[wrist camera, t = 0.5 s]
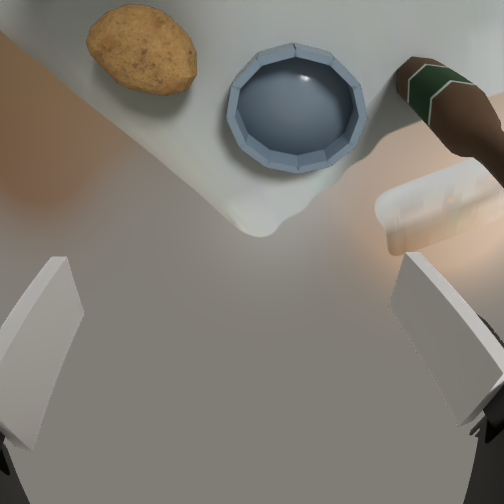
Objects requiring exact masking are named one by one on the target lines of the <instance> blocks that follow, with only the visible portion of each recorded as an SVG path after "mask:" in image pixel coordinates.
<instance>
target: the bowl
mask: <svg viewBox="0 0 504 504" xmlns="http://www.w3.org/2000/svg"><path fill="white" fill-rule="evenodd" d="M226 118H227V119H226V120H227V122H228V124H229V126H230V128H231V131H232V133H233V135H234V137H235V139H236V142H237V144H238V146H239V147H240V149H241V150H243V151H244V152H246V153H247V154H248V155H250V156H251V157H252V158H254V159H255V160H256V161H258V162H259V163H260V164H262V165H263V166H264V167H266V166H267V167H266V168H271V169H276V170H281V171H286V172H291V173H296V174H298V172H299V174H300V173H305V172H309V171H314V170H318V169H323V168H327V167H330V166H332V165H333V164H335V163H336V162H337V161H338V160H340V159H341V158H342V157H344V156H345V155H346V154H347V153H349V152H350V151H351V150H352V149H354V148H355V146H356V145H357V142H358V140H359V137H360V135H361V132H362V130H363V127H364V125H365V122H366V120H367V113H366V108H365V103H364V98H363V93H362V88H361V85H360V83H359V82H358V81H357V80H356V79H355V77H354V76H353V75H352V74H351V73H350V72H349V71H348V70H347V69H346V68H345V67H344V66H343V65H342V64H341V63H340V62H339V61H338V60H337V59H336V58H335V57H334V56H333V55H332V54H331V53H330V52H328V51H325V50H321V49H317V48H313V47H309V46H305V45H301V44H297V43H294V45H293V43H290V44H286V45H282V46H278V47H275V48H271V49H268V50H264V51H261V52H259V53H257V54H256V55H255V56H254V57H253V58H252V59H251V60H250V61H249V62H248V63H247V65H246V66H245V67H244V68H243V69H242V70H241V71H240V72H239V73H238V74H237V75H236V77H235V79H234V81H233V83H232V86H231V90H230V97H229V103H228V109H227V116H226ZM329 165H330V166H329Z"/></svg>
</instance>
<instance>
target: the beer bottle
mask: <svg viewBox="0 0 504 504" xmlns="http://www.w3.org/2000/svg"><path fill="white" fill-rule="evenodd" d="M397 92H398V93H399V94H400V96H401V97H402V98H403V99H404V100H405V101H406V102H407V103H408V104H409V106H410V107H411V108H412V109H413V110H414V111H415V112H416V113H417V114H418V116H419V117H420V118H421V119H422V120H423V121H424V122H425V123H426V124H427V125H428V127H429V128H430V129H431V130H432V131H433V132H434V134H435V135H436V136H437V137H438V138H439V139H440V140H441V142H442V143H443V144H444V145H445V146H446V147H447V148H448V149H449V150H450V151H451V152H452V153H454V154H456V155H458V156H461V157H474V158H475V159H476V160H478V161H479V162H480V163H481V164H483V165H484V166H485V168H486V169H487V170H488V171H489V172H490V173H491V174H492V175H493V176H494V177H495V179H496V180H497V181H498V182H499V183H500V184H501V186H502V187H503V188H504V132H503V131H502V130H501V122H500V120H499V118H498V116H497V114H496V112H495V110H494V109H493V107H492V105H491V103H490V101H489V100H488V98H487V96H486V95H485V93H484V92H483V91H482V90H481V89H479V88H478V87H477V86H476V85H475V84H473V83H472V82H470V81H469V80H467V79H466V78H464V77H463V76H461V75H459V74H458V73H456V72H455V71H453V70H451V69H450V68H448V67H446V66H445V65H443V64H441V63H440V62H438V61H436V60H433V59H429V58H420V57H411V58H410V59H409V60H408V61H407V62H406V63H405V64H403V65H402V66H401V67H400V68H399V69H398V70H397Z"/></svg>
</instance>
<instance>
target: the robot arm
mask: <svg viewBox="0 0 504 504" xmlns="http://www.w3.org/2000/svg"><path fill="white" fill-rule="evenodd" d="M388 307H389V309H390V310H391V312H392V314H393V315H394V317H395V318H396V320H397V321H398V323H399V325H400V326H401V328H402V329H403V331H404V332H405V334H406V336H407V337H408V339H409V341H410V342H411V344H412V345H413V347H414V349H415V350H416V352H417V354H418V355H419V357H420V359H421V361H422V362H423V364H424V366H425V367H426V369H427V371H428V373H429V374H430V376H431V378H432V380H433V381H434V383H435V385H436V387H437V388H438V390H439V392H440V394H441V396H442V398H443V399H444V401H445V403H446V405H447V407H448V409H449V411H450V412H451V414H452V416H453V418H454V420H455V422H456V424H457V426H458V427H460V426H462V425H464V424H467V423H469V422H471V421H473V420H474V419H475V418H476V417H477V416H478V415H479V413H480V412H481V411H482V410H483V411H484V413H485V416H484V417H483V418H482V419H481V420H480V421H479V422H478V423H477V425H476V426H475V427H474V428H473V429H472V430H471V432H470V434H469V435H473V434H474V433H475V432H476V431H477V429H479V428H480V431H479V432H478V433H477V434H476V435H475V437H478V444H477V449H476V454H475V459H474V464H473V469H472V473H471V477H470V481H469V485H468V489H467V492H466V496H465V499H464V503H463V504H504V343H503V342H502V340H500V338H499V336H498V335H497V334H496V333H494V330H493V329H492V328H491V327H490V325H489V324H488V323H487V322H486V321H485V320H484V319H483V318H481V317H480V316H479V315H477V314H476V313H475V312H474V311H473V310H472V309H471V307H470V306H469V305H468V304H467V303H466V302H465V300H464V299H463V298H462V297H461V296H460V295H459V294H458V293H457V291H456V290H455V289H454V288H453V287H452V286H451V285H450V284H449V283H448V281H447V280H446V279H445V278H444V277H443V276H442V275H441V274H440V273H439V272H438V271H437V270H436V269H435V268H434V267H433V266H432V265H431V263H430V262H429V261H428V260H427V259H426V258H425V257H424V256H423V255H422V254H421V253H420V252H405V254H404V258H403V261H402V264H401V268H400V271H399V274H398V277H397V280H396V283H395V287H394V289H393V293H392V296H391V298H390V301H389V304H388ZM83 316H84V310H83V307H82V304H81V301H80V298H79V295H78V292H77V289H76V286H75V282H74V279H73V275H72V272H71V268H70V265H69V261H68V257H51V258H50V259H49V260H48V262H47V263H46V264H45V265H44V267H43V268H42V269H41V271H40V272H39V273H38V275H37V276H36V278H35V279H34V280H33V281H32V283H31V284H30V285H29V287H28V288H27V290H26V291H25V293H24V294H23V295H22V297H21V298H20V300H19V301H18V302H17V304H16V305H15V307H14V309H13V310H12V311H11V313H10V314H9V316H8V317H7V319H6V321H5V322H4V323H3V325H2V327H1V328H0V504H30V503H29V501H28V498H27V496H26V494H25V492H24V490H23V488H22V485H21V483H20V481H19V478H18V476H17V473H16V471H15V468H14V466H13V463H12V460H11V458H10V455H9V452H8V450H7V448H6V446H5V445H4V444H3V442H4V438H5V437H6V438H7V439H8V440H9V441H10V442H11V443H12V444H13V445H14V446H17V447H19V448H22V449H25V450H28V451H31V452H33V450H34V446H35V443H36V440H37V436H38V433H39V430H40V426H41V423H42V420H43V417H44V414H45V410H46V408H47V405H48V402H49V399H50V396H51V393H52V391H53V388H54V385H55V383H56V380H57V377H58V375H59V372H60V370H61V367H62V365H63V362H64V360H65V357H66V355H67V352H68V350H69V347H70V345H71V343H72V340H73V338H74V336H75V333H76V331H77V329H78V327H79V324H80V322H81V320H82V318H83Z"/></svg>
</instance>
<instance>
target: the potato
mask: <svg viewBox="0 0 504 504" xmlns="http://www.w3.org/2000/svg"><path fill="white" fill-rule="evenodd" d="M86 44H87V47H88V49H89V52H90V55H91V56H92V57H93V58H94V59H95V60H96V61H97V62H98V64H99V65H100V66H101V67H102V68H104V69H105V70H106V71H107V72H108V73H109V74H110V75H111V77H112V78H113V79H114V80H115V81H116V82H117V83H119V84H121V85H123V86H125V87H127V88H128V89H132V90H137V91H142V92H146V93H150V94H155V95H170V94H174V93H177V92H181V91H184V90H188V88H189V86H190V85H191V83H192V82H193V80H194V78H195V77H196V75H197V58H196V50H195V48H194V46H193V43H192V41H191V39H190V38H189V36H188V35H187V34H186V33H185V31H184V30H183V29H182V28H181V27H180V26H179V25H178V24H177V23H176V22H175V21H174V20H173V19H172V18H170V17H169V16H168V15H167V14H165V13H164V12H163V11H161V10H158V9H155V8H152V7H149V6H145V5H134V4H127V5H124V6H122V7H119V8H117V9H114V10H112V11H109V12H107V13H105V14H104V15H103V16H102V17H101V18H100V19H99V20H98V21H97V22H96V23H95V24H94V25H93V26H92V27H91V29H90V31H89V34H88V37H87V40H86Z"/></svg>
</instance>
